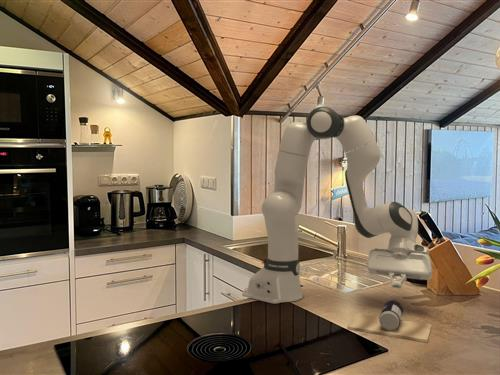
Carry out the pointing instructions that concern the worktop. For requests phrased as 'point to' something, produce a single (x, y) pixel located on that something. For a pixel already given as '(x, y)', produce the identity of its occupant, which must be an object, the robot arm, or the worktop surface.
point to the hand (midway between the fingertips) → (396, 286)
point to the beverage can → (391, 315)
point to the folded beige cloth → (402, 331)
